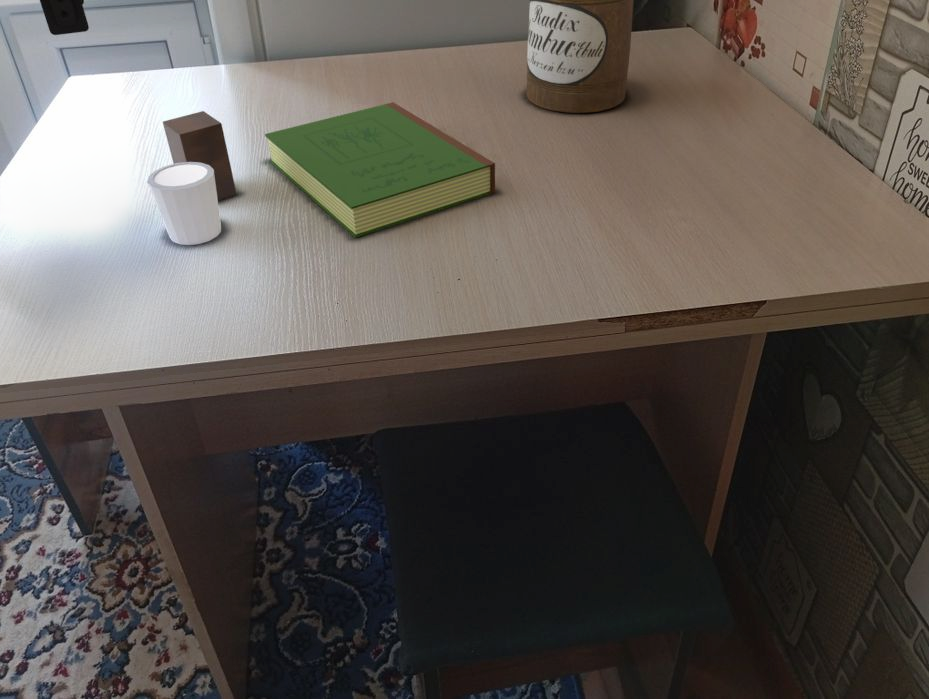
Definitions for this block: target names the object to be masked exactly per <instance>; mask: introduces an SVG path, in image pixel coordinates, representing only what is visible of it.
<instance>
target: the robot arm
mask: <svg viewBox="0 0 929 699" xmlns="http://www.w3.org/2000/svg"><path fill="white" fill-rule="evenodd" d="M39 3H40V6H41V8H42V12H43V14H44V18H45V22H46V24H47V28H48V30H49V33H50V34H51V35H54V36H59V35H68V34H77V33H85V32H88V31H89V28H90V27H89V23H88V19H87V14H86V12H85V9H84V3H85V0H39Z"/></svg>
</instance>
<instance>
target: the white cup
mask: <svg viewBox="0 0 929 699" xmlns="http://www.w3.org/2000/svg"><path fill="white" fill-rule="evenodd" d="M147 184H148V187H149V190H150V192H151V195H152V198H153V199H154V203H155V204H156V207H157V210H158V212H159V215H160V218H161V220H162V222H163V224H164V227H165V230H166V232H167V235H168V237H169V239H170V240H171V241H172V242H173V243H174V244H177V245H181V246H182V245H183V246H195V245H201V244H203V243H208V242H210V241H212V240H213V239H215V238H217V237H218V236H219V235H220V233H222V223H221V215H220V206H219V201H218V199H217V191H216V184H215V176H214V169H213V168H212V167H211V166H210V165H207V164H204V163H199V162H183V163H175V164H174V163H172V164H168V165H165V166H162V167H160V168H158V169H156V170H154V171H153V172H152V173H150V175H149V176H147Z"/></svg>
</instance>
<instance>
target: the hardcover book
mask: <svg viewBox="0 0 929 699" xmlns="http://www.w3.org/2000/svg"><path fill="white" fill-rule="evenodd" d="M264 137H265V138H266V139H267V142H268V146H269V152H270V158H271V159H269V163H270V164H271V165H273V166H274V167H275V169H277V170H278V171H279V172H280V173H281V174H283V175H284V176H285V178H287V179H288V180H290V182H292V183H293V184H294V185H295V186H296V187H297V188H299V189H300V190H301V191H302V192H303V193H304V194H305V195H306V196H308V197H309V198H310V199H311V201H313V202H314V203H315V204H316V205H317V206H318V207H320V208H321V209H322V210H323V211H324V212H326V214H327V215H329V217H331V218H332V219H333V220H334V221H335V222H336V223H337V224H339V225H340V226H341V227H342V228H343V229H345V230H346V231H347V232H348V234H350V235H351V236H352V237H353V238H355V239H357V238H359V237H363V236H365V235H369V234H371V233H374V232H378V231H381V230H384V229H387V228H391V227H393V226H396V225H400V224H402V223H405V222H408V221H412V220H415V219H417V218H421V217H424V216H427V215H430V214H433V213H436V212H439V211H443V210H446V209H448V208H451V207H455V206H458V205H462V204H464V203H467V202H470V201H473V200H476V199H480V198H482V197H485V196H488V195H491V194H495V193H496V163H495V162H494V161H492V160H491V159H489V158H487V157H485V156H484V155H482V154H481V153H479V152H478V151H476V150H473V149H472V148H471V147H469V146H467V145H466V144H463V143H462V142H460V141H459V140H457V139H455V138H454V137H452V136H450V135H449V134H448V133H446V132H444V131H442V130H440V129H439V128H438V127H435V126H433V125H432V124H430V123H429V122H427V121H426V120H424V119H422V118H420V117H419V116H417V115H415V114H414V113H412V112H410V111H409V110H407V109H405V108H404V107H402V106H401V105H399V104H397V103H395V102H392V101H391V102H389V103H384V104H381V105H375V106H373V107H367V108H364V109H359V110H355V111H352V112H348V113H344V114H340V115H336V116H331V117H328V118H324V119H320V120H316V121H312V122H308V123H304V124H300V125H295V126H292V127H288V128H283V129H280V130H275V131H272V132H268V133H264Z"/></svg>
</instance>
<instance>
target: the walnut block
mask: <svg viewBox="0 0 929 699" xmlns="http://www.w3.org/2000/svg"><path fill="white" fill-rule="evenodd" d="M162 125H163V129H164V133H165V136H166V137H165V138H166V141H167V144H168V148H169V152H170V155H171V156H170V157H171V159H172V164H175V163H183V162H199V163H204V164H207V165H210V166H211V167H212V168H213V169H214V176H215V184H216V191H217V199H218V202H220V201H223V200H225V199H226V200H227V199H228V198H232V197H235V196H237V195H238V193H237V189H236V184H235V180H234V175H233V171H232V166H231V161H230V156H229V153H228V147H227V143H226V139H225V138H226V137H225V134H224V133H225V132H224V129H223V124H222V122H221V121H219V120H218V119H216V118H214V117H213V116H211V115H210V114H208V113H207V112H206V111H204V110H201V111H198V112H194V113H190V114H186V115H183V116H178V117H175V118H170V119H168V120H163V121H162Z"/></svg>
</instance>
